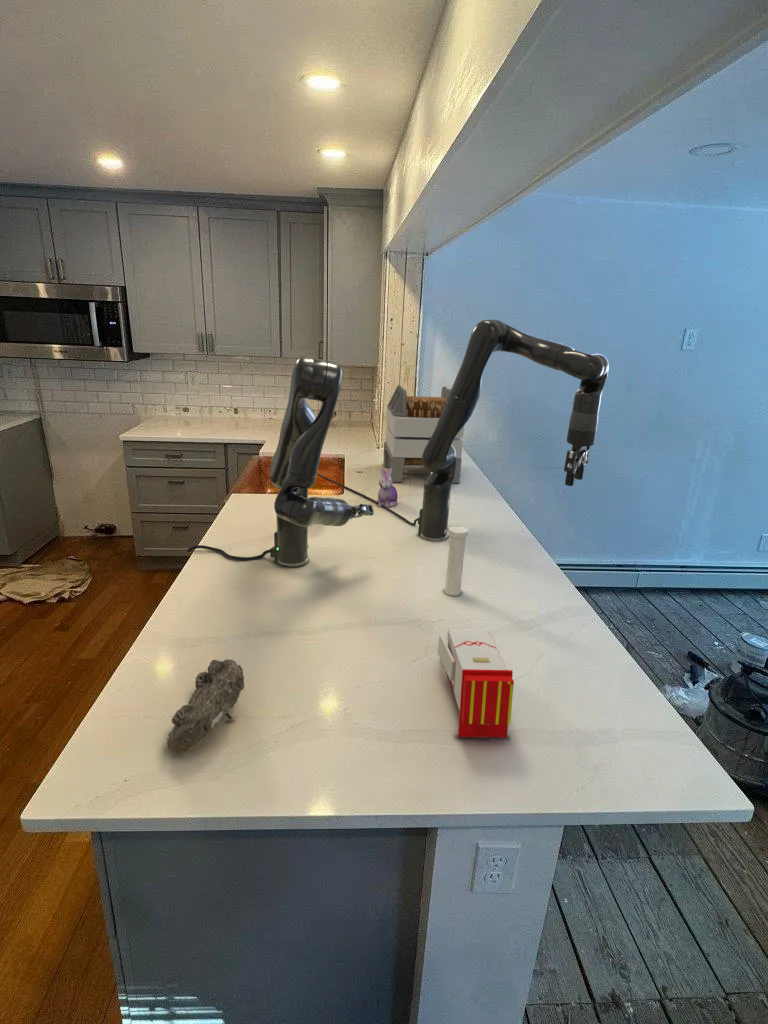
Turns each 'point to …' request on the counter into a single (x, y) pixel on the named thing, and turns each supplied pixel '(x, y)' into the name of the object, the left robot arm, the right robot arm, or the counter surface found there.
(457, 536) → the lid
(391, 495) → the figurine
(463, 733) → the toy
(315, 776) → the counter surface
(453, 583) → the white cylindrical bottle
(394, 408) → the grey wooden box
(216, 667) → the fossil
